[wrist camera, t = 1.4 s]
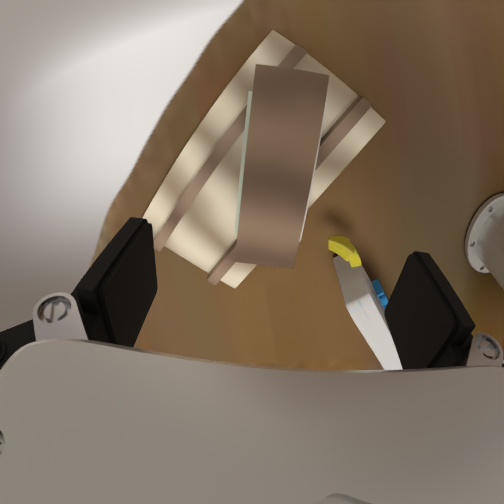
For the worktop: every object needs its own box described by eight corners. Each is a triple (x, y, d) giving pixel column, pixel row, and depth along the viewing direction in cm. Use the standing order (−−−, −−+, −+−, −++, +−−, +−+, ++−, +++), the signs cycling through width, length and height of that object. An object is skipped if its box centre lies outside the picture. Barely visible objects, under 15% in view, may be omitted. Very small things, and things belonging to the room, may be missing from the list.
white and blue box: (412, 351, 46) (427, 397, 38) (393, 360, 47) (406, 407, 39) (339, 205, 33) (361, 253, 24) (310, 221, 34) (322, 274, 26)
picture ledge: (272, 32, 23) (272, 26, 21) (380, 119, 27) (391, 124, 24) (141, 222, 35) (132, 234, 32) (235, 281, 39) (233, 296, 36)
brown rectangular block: (256, 69, 23) (250, 63, 15) (313, 77, 23) (334, 76, 15) (241, 211, 30) (231, 261, 23) (290, 217, 30) (297, 269, 23)
